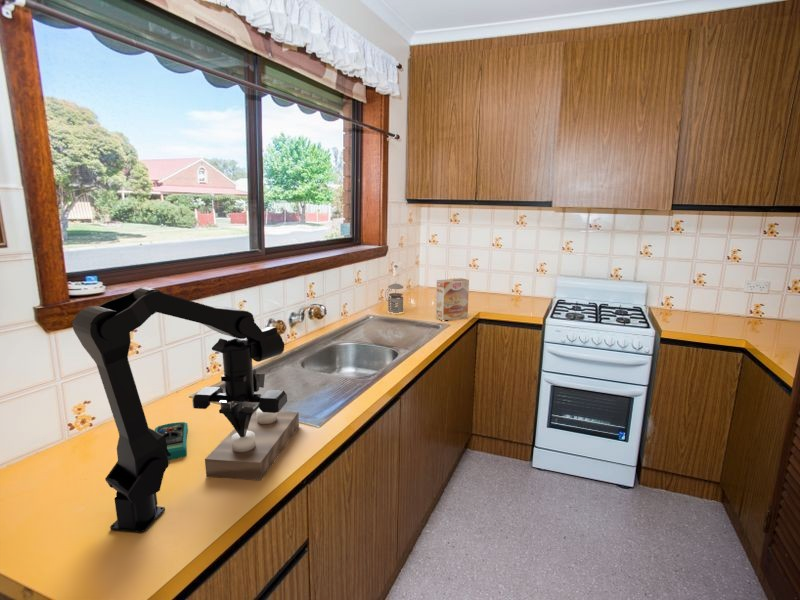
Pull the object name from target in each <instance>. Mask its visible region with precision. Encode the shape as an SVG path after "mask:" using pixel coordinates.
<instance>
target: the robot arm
mask: <svg viewBox="0 0 800 600" xmlns="http://www.w3.org/2000/svg"><path fill="white" fill-rule="evenodd" d="M156 313H159V314H163V315H167V316H171V317H174V318H178V319H184V320H186V321H190V322H195V323H199V324H201V325H203V326H205V327H207V328H209V329H210V330H213V331H215V332H217V333H219V334H221V335H225V336H229V337H232V339H228V340H227V339H224V338H218V341H216V343H215V344H214V345H213V346H212V347H211V351H215V352H216V353H221V354H222V363H223V364H222V365H223V374H222V375H221V376H220V379H221V380H220V381H221V382H224V389H225V391H224V389H223V388H222V387H220V386H205V387H203V388H202V389H200V390H199V391H198V392H196V393H195V394H194V395H193V397H192V408H193V409H199V410H206V409H208V408H209V406H211V402H212V403H219V404H220V409H218V411H219V412H218V413H219V414H223V415H224V417H226V419H227V420H228V422H230V424H231V425H232V427H233V428H234V429H235V430H236V431H237V433H238V434H239V436H240V437H244V436H245V435H246V432H247V429H248V426H249V422H250V419H251V416H252V414H253V413H254V412H255V411H256V410H257V409H260V410H261V411H262V412H268V413H277V412H279V411H282V408H284V406H285V405H286V404H287V402H288V395H287V392H286V391H285V390H281V389H268V390H267V391H266V392H264V394H261V393H257V392H259V390H260V388H261V389H262V388H264V387H265V377H266V373H257V370H256V368H255V367H253V361H255V362H257V363H259V362H263V361H265V360H269V359H272V358H275V357H277V356H280V355H282V354H283V353H284V350H285V342H284V341H283V338H282V336H281V334H280V333H279V332H278V327H276V326H274V325H270V326H266V327H264V328H262V329H261V328H260V326H258V324H257V323H256V322H255V317H254V315H253V314H252V313H251V312H249V311H247V310H244V309H238V308H235V307H234V308H233V307H227V306H217V305H216V306H215V305H214V306H213V305H212V306H211V305H206V304H203V303H200V302H196V301H192V300H189V299H186V298H182V297H179V296H175V295H172V294H169V293H164V292H163V291H161V290H160V289H156V288H151V287H145V286H143V287H138V289H135V290H133V291H131V292H129V293H127V294H125V295H121V296H119V297H115V298H113V299H110V300H108V301H105V302H103V303H101V304H99V305H90V306H86V307H84V308H82V309H81V310H80V311H78V312H77V313H76V315H75V316H74V317H73V319H72V329H73V332H74V333H75V335H76V337H77V338H78V340H79V342H80V343H81V345H82V347H83V349H85V351H86V352H87V353H88V355H89V356H90V358H91V359H92V360H93V361H94V362H95V365H96V367H97V371H98V374H99V376H100V379H101V383H102V385H103V389H104V391H105V392H104V393H105V394H106V398H107V401H108V404H109V407H110V411H111V414H112V416H113V419H114V423H115V425H116V426H115V427H116V428H117V431H118V436H119V437H118V440H117V441H118V442H117V446H116V454H117V455H116V456H117V461H116V462H115V465H114V466H113V467H112V469H111V470H110V471H109V473H108V474H107V475H106V477H105V482H106V484H107V485H108V486H109V487H110V488H112V489H113V490H115V491H116V493H115V495H116V497H114V506H115V513H116V520H115V521H114V522H113V523H112V524H111V525H110V526H109V529H110V530H111V531H119V532H132V533H141V534H142V533H144V532H146V531H147V530H148V529H149V528H150V527H151V526H152V525H153V524H154V523H155V522H156V521H157V520H158V519H159V517H160V516H161V515H162V514H163V513H164V512H165V511H166V508H165V506H159V505H158V497H157V493H158V492H159V491H161V486H162V483H163V479H164V475H165V472H166V470H167V469H168V468H169V465H170V463H169V461H170V460H168V457H167V456H171V454H170V453H169V451H168V449H167V443H166V438H165V436H163V435H162V434H160V433H158V432H156V431H155V429H152V428H150V427H149V424H148V421H147V418H146V415H145V414H146V413H145V411H144V409H143V405H142V402H141V399H140V394H139V392H138V387H137V385H136V382H135V378H134V375H133V371H132V368H131V364H130V362H129V352H130V348H131V343H132V342H131V340H132V339H131V333H132V332H133V331H134V330H136V329H138V328H140V327H141V326H142V325H143V324H144V323H145V322H146V321H147V320H148V319H149V318H150V317H151V316H153V315H155V314H156Z"/></svg>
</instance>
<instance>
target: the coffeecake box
mask: <svg viewBox="0 0 800 600" xmlns="http://www.w3.org/2000/svg"><path fill="white" fill-rule="evenodd" d="M469 285H470V279H465V278H462V277H458V278H449V279H448V278H447V279H437V280H436V295H435V299H436V301H435V319H436V318H437V319H436V320H438V319H440V320H444V322H446V321H445V320H451V321H456V319H459V320H465V319H468V317H469V316H468V315H469V313H468V312H469V311H468V310H469V290H470V287H469ZM440 320H439V321H440Z"/></svg>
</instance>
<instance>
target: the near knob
mask: <svg viewBox="0 0 800 600" xmlns="http://www.w3.org/2000/svg"><path fill="white" fill-rule="evenodd" d="M254 447H255V433H254V432H252V431H247V432H246V435H245V436H244V437H240V436H239V434H238V433H235V434H233V435H232V449H233V450H234V451H235V452H246V451H249V450H252V449H253V448H254Z"/></svg>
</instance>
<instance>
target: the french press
mask: <svg viewBox="0 0 800 600" xmlns="http://www.w3.org/2000/svg"><path fill="white" fill-rule="evenodd" d="M393 268H395V269H397V268H398V265H397V264H394V265H393ZM400 289H404V286H403V285H402V284H400V283H397V282H395V283H392V284H390V285H388V287H387V289H386V290H385V294H384V295H385V300H386V301H387V302H388V303H387V304H388V305H387V307H388V308H387V309H388V310H387V311H389V312H393V313H399V312H403V311H404V296H403V293H399V292H395V293H394V292H392V290H400ZM387 292H392V293H388V296H387Z"/></svg>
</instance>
